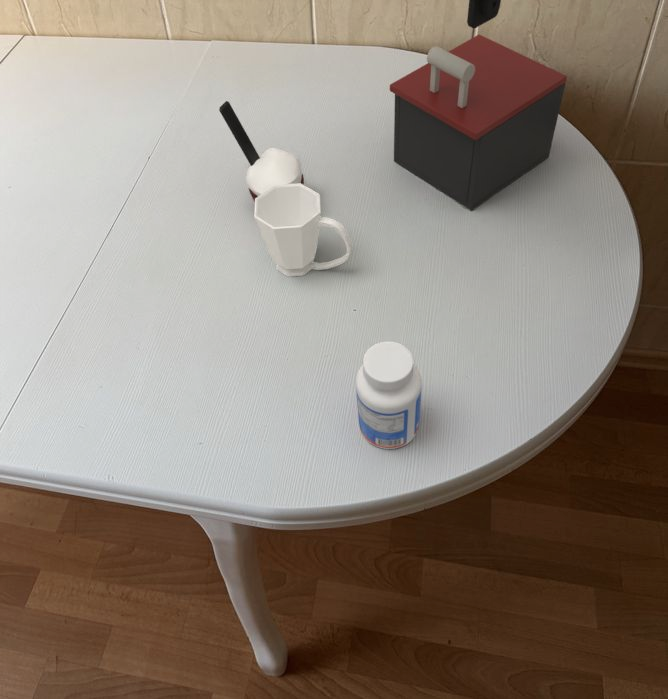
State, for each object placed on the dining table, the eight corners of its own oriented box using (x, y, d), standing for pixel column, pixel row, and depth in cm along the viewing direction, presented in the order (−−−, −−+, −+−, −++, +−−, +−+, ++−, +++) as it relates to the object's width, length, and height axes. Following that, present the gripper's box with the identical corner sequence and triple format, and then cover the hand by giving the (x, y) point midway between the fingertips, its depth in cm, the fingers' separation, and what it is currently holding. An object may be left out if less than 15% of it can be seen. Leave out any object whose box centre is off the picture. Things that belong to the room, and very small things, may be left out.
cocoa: (323, 212, 80) (315, 121, 71) (278, 238, 78) (264, 148, 69) (275, 172, 85) (261, 83, 76) (232, 195, 83) (212, 106, 73)
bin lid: (475, 140, 71) (482, 91, 67) (389, 91, 77) (389, 42, 73) (566, 82, 76) (577, 32, 72) (478, 40, 82) (483, -8, 78)
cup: (277, 234, 79) (268, 176, 72) (362, 252, 76) (361, 194, 70) (252, 278, 75) (240, 221, 68) (340, 299, 72) (336, 242, 66)
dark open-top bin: (471, 211, 79) (481, 137, 71) (393, 161, 85) (394, 88, 77) (548, 157, 84) (565, 83, 76) (470, 113, 90) (478, 40, 82)
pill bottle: (387, 388, 65) (387, 322, 57) (431, 423, 63) (438, 358, 55) (345, 425, 63) (340, 361, 55) (389, 463, 61) (390, 401, 53)
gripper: (597, -243, 45) (547, 20, 58) (406, -281, 53) (401, -44, 67) (520, -213, 42) (486, 56, 56) (331, -259, 50) (342, -16, 64)
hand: (440, 1), depth 61 cm, fingers open, 9 cm apart
